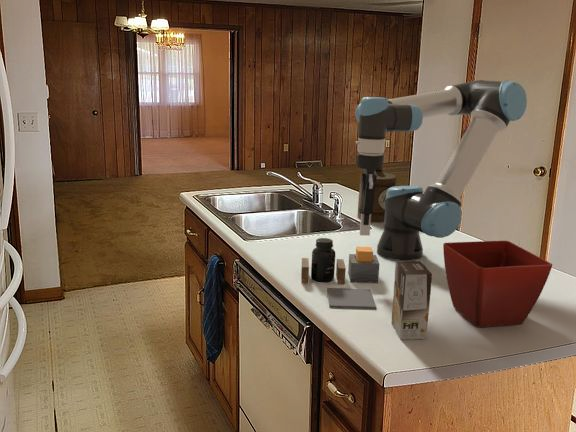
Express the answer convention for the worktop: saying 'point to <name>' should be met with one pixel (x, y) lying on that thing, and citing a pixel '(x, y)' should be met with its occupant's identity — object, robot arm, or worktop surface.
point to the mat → (350, 298)
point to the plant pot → (494, 281)
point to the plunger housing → (363, 270)
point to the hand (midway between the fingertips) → (364, 234)
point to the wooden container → (379, 195)
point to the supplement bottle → (323, 261)
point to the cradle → (339, 271)
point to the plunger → (364, 254)
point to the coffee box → (411, 299)
